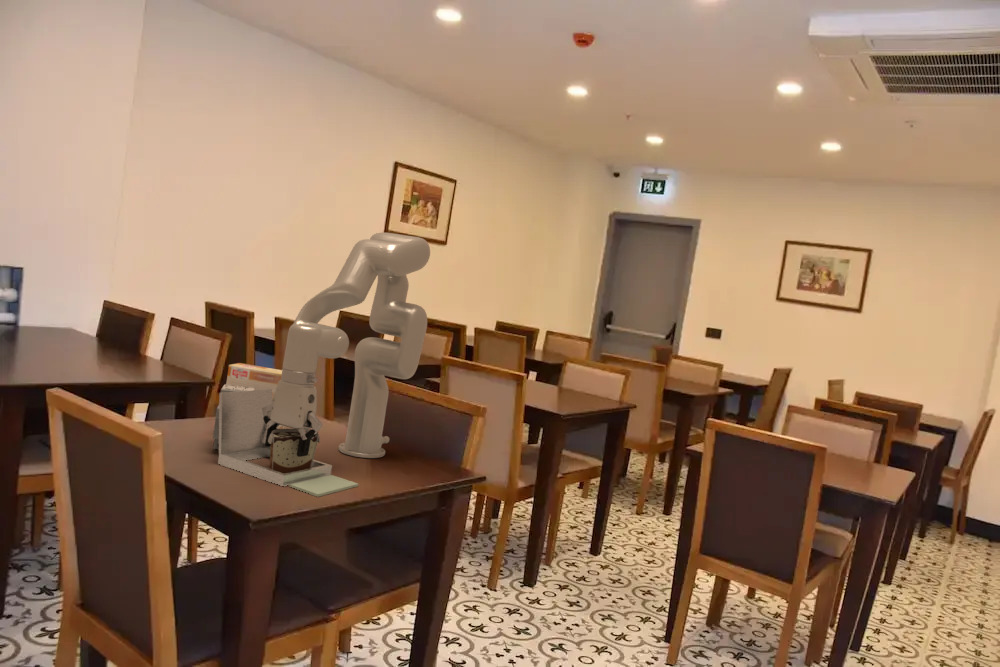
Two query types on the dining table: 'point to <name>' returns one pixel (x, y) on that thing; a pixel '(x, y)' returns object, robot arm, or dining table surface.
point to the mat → (324, 485)
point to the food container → (289, 451)
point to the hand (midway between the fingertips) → (286, 450)
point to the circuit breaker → (216, 428)
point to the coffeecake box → (254, 378)
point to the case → (253, 438)
